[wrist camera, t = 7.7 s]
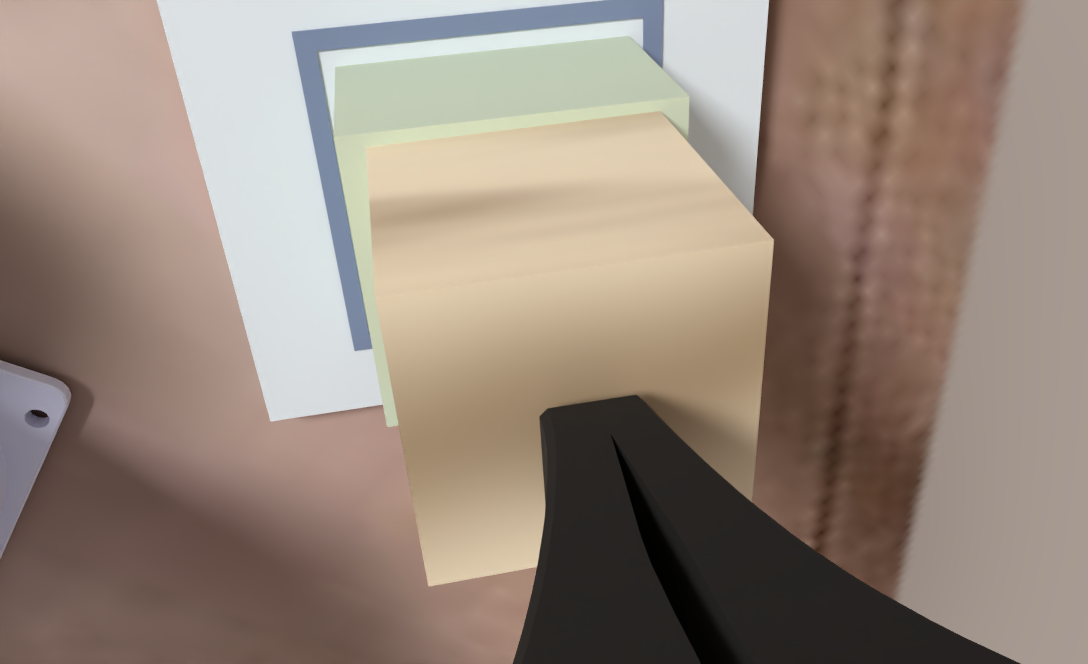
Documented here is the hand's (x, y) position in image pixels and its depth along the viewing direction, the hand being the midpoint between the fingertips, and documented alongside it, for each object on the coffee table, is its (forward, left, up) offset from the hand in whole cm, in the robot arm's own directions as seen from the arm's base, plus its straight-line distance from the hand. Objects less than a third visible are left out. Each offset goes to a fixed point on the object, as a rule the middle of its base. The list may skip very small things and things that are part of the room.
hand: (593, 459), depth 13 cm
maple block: (0, 0, -5) cm, 5 cm away
